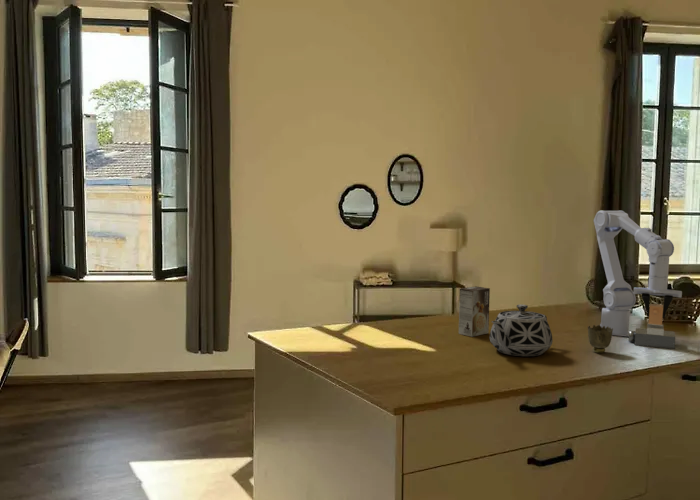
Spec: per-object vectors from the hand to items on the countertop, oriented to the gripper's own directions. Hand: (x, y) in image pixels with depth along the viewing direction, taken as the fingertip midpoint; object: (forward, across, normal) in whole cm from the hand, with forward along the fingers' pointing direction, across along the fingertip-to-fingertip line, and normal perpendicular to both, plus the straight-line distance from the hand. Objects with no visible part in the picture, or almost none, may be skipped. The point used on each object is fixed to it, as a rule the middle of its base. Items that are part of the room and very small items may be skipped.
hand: (655, 317), depth 233 cm
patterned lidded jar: (+10, -39, -32) cm, 51 cm away
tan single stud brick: (+2, 0, 0) cm, 2 cm away
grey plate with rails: (+9, 0, +1) cm, 9 cm away
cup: (+10, -16, -20) cm, 27 cm away
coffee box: (+10, -58, -12) cm, 60 cm away
